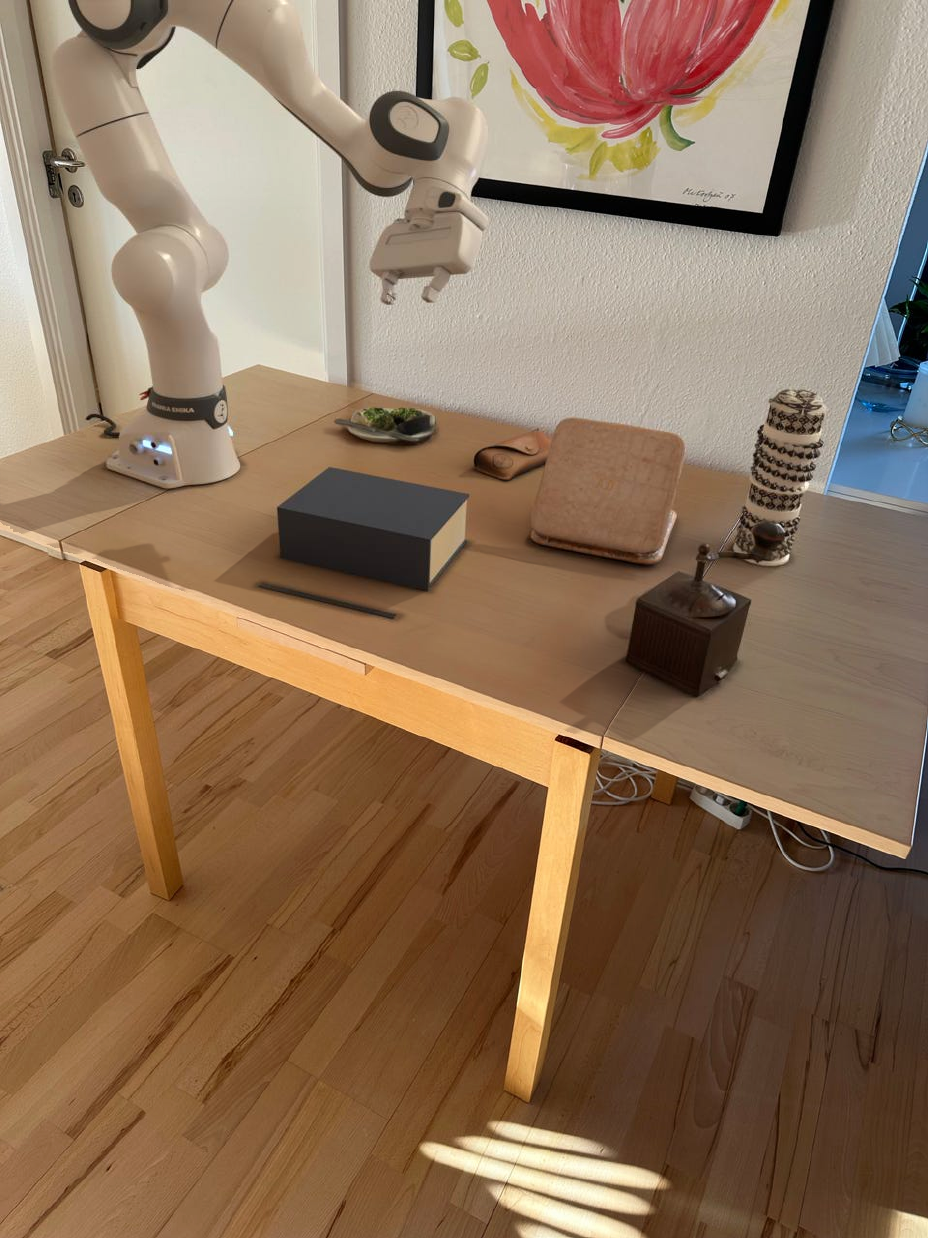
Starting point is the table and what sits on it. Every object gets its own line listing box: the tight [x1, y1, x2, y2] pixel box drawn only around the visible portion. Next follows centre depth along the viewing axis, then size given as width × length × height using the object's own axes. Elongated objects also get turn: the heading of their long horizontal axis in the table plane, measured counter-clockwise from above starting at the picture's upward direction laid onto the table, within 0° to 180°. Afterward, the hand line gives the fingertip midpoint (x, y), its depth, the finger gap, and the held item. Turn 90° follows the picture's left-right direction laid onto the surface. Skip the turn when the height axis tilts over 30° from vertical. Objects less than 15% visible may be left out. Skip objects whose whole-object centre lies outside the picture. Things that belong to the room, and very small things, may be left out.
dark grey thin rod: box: [258, 582, 397, 619], centre depth 121 cm, size 20×1×1 cm, turn 70°
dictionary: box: [276, 466, 470, 592], centre depth 132 cm, size 23×16×8 cm
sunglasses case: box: [473, 427, 552, 481], centre depth 164 cm, size 18×7×7 cm, turn 139°
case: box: [529, 417, 687, 566], centre depth 139 cm, size 20×21×16 cm
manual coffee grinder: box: [625, 521, 785, 697], centre depth 109 cm, size 16×11×18 cm
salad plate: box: [333, 406, 437, 446], centre depth 174 cm, size 19×18×5 cm
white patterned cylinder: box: [732, 388, 829, 567], centre depth 132 cm, size 9×9×25 cm
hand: (406, 301), depth 133 cm, fingers open, 8 cm apart
